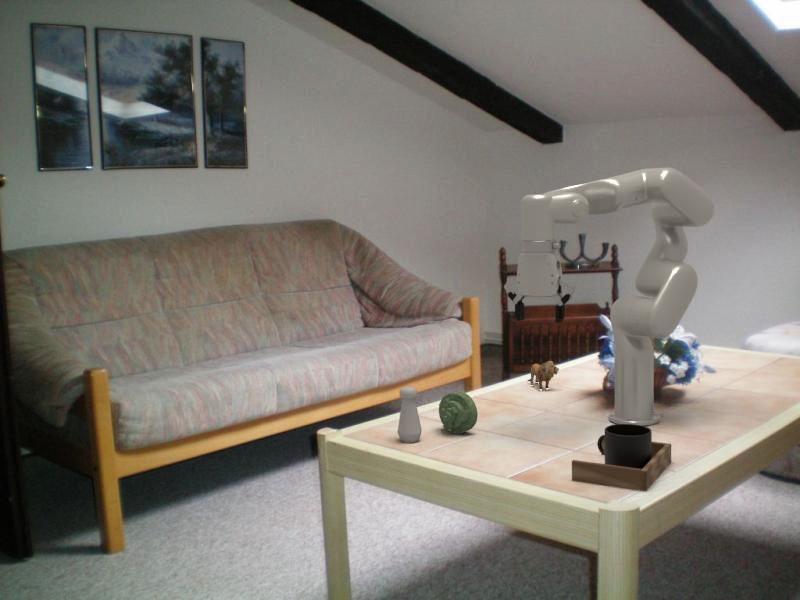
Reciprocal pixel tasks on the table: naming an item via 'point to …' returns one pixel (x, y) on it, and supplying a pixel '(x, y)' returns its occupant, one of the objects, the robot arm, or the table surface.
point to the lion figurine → (543, 373)
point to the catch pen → (624, 470)
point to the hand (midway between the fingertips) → (539, 321)
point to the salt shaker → (409, 416)
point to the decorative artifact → (458, 412)
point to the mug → (627, 445)
